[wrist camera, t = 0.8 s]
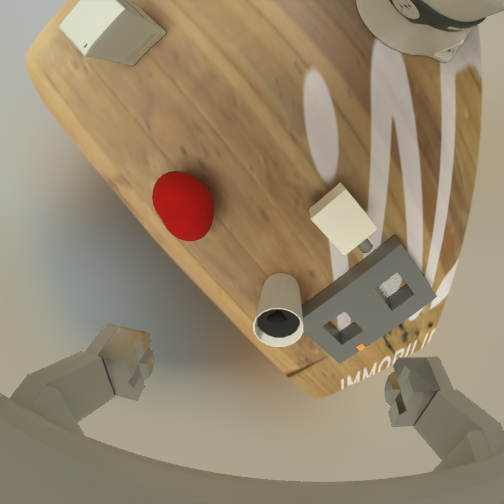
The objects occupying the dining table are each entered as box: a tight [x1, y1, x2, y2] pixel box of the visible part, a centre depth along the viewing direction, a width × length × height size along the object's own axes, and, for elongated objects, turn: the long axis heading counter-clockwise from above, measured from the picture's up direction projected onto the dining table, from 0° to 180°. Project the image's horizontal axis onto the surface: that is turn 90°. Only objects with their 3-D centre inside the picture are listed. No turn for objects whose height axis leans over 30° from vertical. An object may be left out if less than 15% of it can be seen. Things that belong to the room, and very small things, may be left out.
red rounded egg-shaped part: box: [152, 171, 214, 241], centre depth 39 cm, size 9×7×10 cm
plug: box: [309, 182, 378, 256], centre depth 39 cm, size 6×8×7 cm, turn 45°
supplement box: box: [59, 0, 166, 66], centre depth 29 cm, size 7×7×13 cm
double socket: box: [301, 235, 437, 363], centre depth 46 cm, size 20×12×4 cm, turn 135°
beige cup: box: [253, 273, 303, 347], centre depth 44 cm, size 7×7×10 cm
